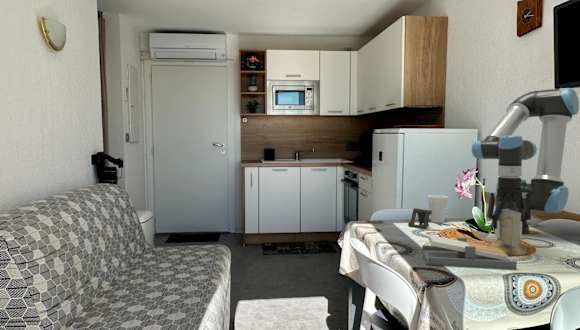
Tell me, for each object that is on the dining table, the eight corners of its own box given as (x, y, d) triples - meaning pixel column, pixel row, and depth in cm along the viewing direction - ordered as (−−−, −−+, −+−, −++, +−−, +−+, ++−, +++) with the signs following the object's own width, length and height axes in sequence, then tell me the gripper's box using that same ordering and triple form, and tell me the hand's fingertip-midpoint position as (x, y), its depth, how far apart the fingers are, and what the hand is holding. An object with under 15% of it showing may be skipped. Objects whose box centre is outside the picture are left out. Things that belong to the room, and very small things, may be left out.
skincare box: (496, 240, 142) (498, 209, 140) (505, 238, 143) (507, 208, 141) (510, 245, 136) (512, 214, 134) (519, 244, 137) (521, 212, 135)
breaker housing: (500, 255, 134) (500, 238, 134) (516, 269, 120) (516, 250, 119) (422, 251, 140) (422, 235, 139) (428, 264, 125) (428, 246, 125)
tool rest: (519, 246, 144) (519, 242, 144) (532, 256, 132) (532, 252, 132) (485, 245, 147) (485, 241, 147) (495, 254, 135) (495, 250, 135)
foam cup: (448, 220, 191) (449, 195, 190) (445, 224, 184) (446, 198, 183) (429, 218, 196) (429, 194, 196) (425, 222, 189) (426, 196, 188)
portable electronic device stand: (407, 226, 180) (407, 209, 179) (416, 224, 185) (416, 207, 185) (424, 229, 174) (425, 212, 173) (432, 226, 179) (433, 209, 178)
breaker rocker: (497, 252, 132) (499, 247, 131) (507, 261, 123) (508, 255, 123) (427, 238, 136) (428, 233, 136) (431, 245, 127) (432, 240, 127)
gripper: (483, 177, 136) (482, 239, 138) (544, 178, 132) (542, 241, 133) (477, 175, 143) (476, 234, 145) (534, 176, 139) (533, 236, 141)
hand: (508, 237), depth 139 cm, fingers open, 7 cm apart
